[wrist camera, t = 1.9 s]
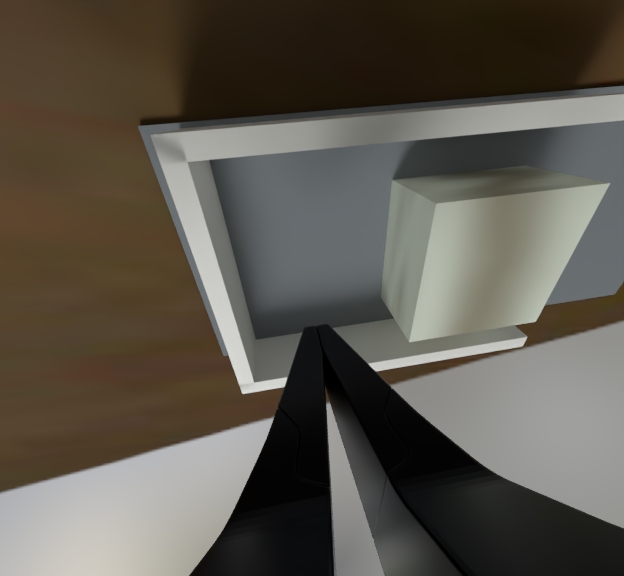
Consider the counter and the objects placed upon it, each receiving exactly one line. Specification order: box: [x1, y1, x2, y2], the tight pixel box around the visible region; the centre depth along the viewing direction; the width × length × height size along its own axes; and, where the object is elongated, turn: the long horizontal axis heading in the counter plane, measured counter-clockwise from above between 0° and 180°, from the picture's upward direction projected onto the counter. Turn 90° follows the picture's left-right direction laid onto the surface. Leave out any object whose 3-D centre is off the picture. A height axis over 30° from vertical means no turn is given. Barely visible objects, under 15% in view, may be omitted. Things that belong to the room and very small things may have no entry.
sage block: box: [381, 166, 610, 342], centre depth 13 cm, size 7×7×4 cm
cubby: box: [150, 93, 624, 394], centre depth 13 cm, size 17×13×4 cm
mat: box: [138, 86, 624, 356], centre depth 15 cm, size 29×13×1 cm, turn 94°
